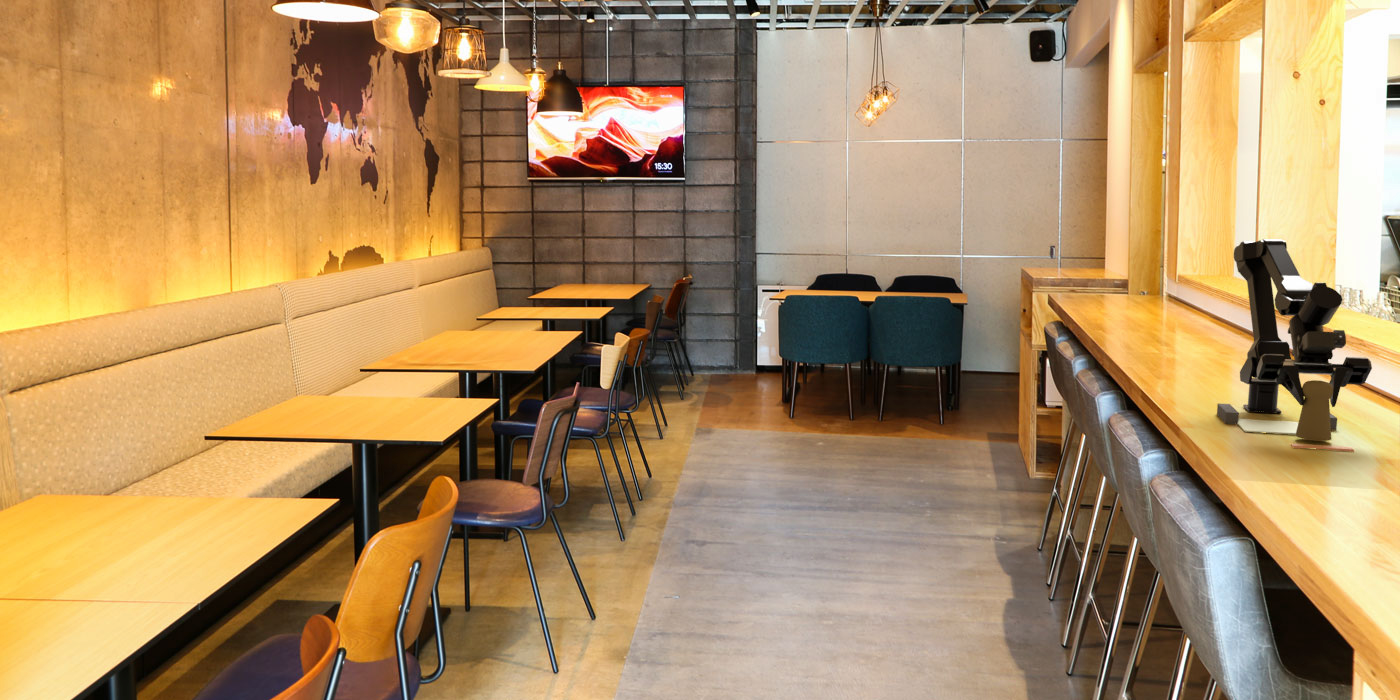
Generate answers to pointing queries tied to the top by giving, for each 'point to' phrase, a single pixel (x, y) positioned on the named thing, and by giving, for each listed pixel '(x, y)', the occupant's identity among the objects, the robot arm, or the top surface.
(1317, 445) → the off strip
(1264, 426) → the pad
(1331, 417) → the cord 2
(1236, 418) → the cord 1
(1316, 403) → the cork
